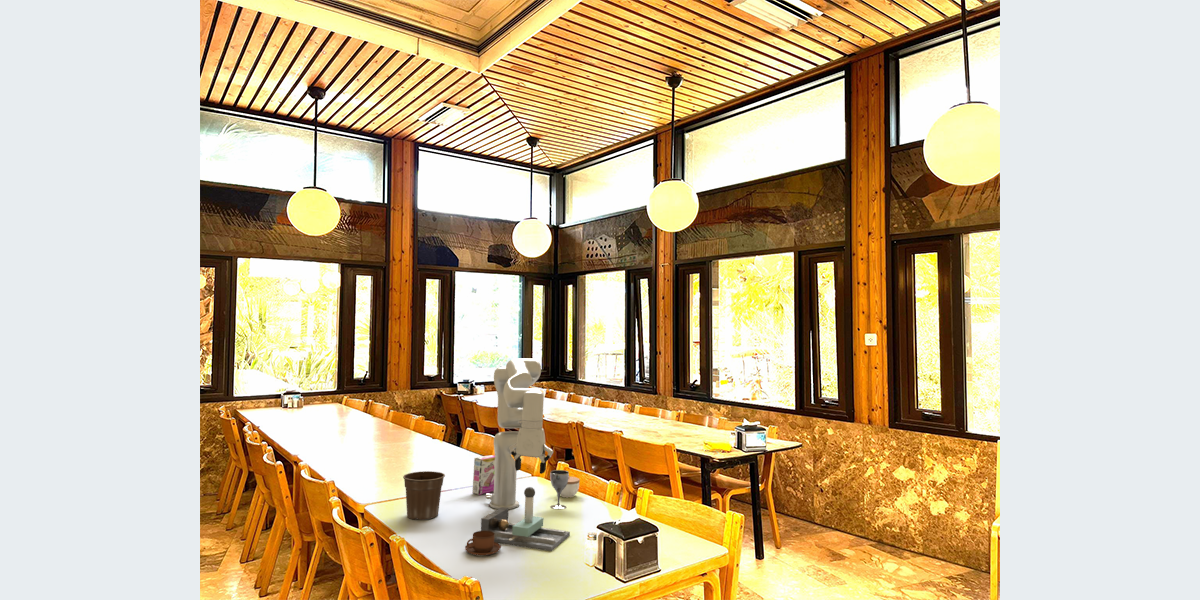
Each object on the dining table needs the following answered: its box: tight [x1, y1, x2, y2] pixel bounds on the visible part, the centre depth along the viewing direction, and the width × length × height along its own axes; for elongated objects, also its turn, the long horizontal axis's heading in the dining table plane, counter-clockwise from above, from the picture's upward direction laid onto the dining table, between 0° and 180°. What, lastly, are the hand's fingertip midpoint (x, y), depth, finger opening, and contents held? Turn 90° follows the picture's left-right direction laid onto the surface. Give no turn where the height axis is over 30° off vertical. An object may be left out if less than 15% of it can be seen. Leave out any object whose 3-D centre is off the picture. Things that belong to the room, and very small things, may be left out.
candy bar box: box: [472, 454, 495, 496], centre depth 290 cm, size 11×5×16 cm, turn 144°
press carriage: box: [512, 486, 544, 537], centre depth 228 cm, size 6×14×16 cm, turn 162°
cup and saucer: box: [464, 530, 502, 557], centre depth 212 cm, size 12×12×6 cm
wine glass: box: [549, 469, 570, 510], centre depth 270 cm, size 8×8×15 cm
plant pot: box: [402, 470, 446, 521], centre depth 250 cm, size 16×16×16 cm
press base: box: [480, 507, 571, 552], centre depth 228 cm, size 28×18×8 cm, turn 72°
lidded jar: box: [560, 476, 581, 498], centre depth 289 cm, size 11×11×9 cm
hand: (530, 471), depth 229 cm, fingers open, 9 cm apart
